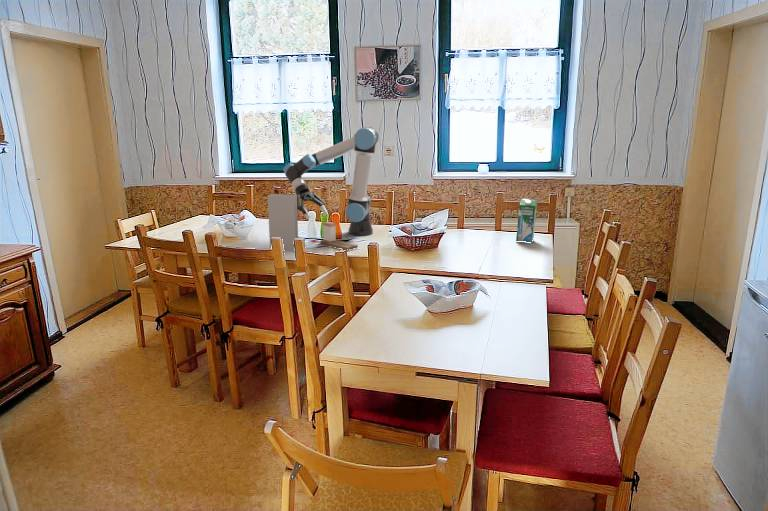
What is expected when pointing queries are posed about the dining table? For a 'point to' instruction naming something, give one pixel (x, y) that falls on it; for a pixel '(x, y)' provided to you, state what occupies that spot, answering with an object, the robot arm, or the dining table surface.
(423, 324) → the dining table surface
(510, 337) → the dining table surface
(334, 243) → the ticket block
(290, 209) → the tall grey block
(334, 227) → the stub
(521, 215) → the milk carton
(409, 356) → the dining table surface
